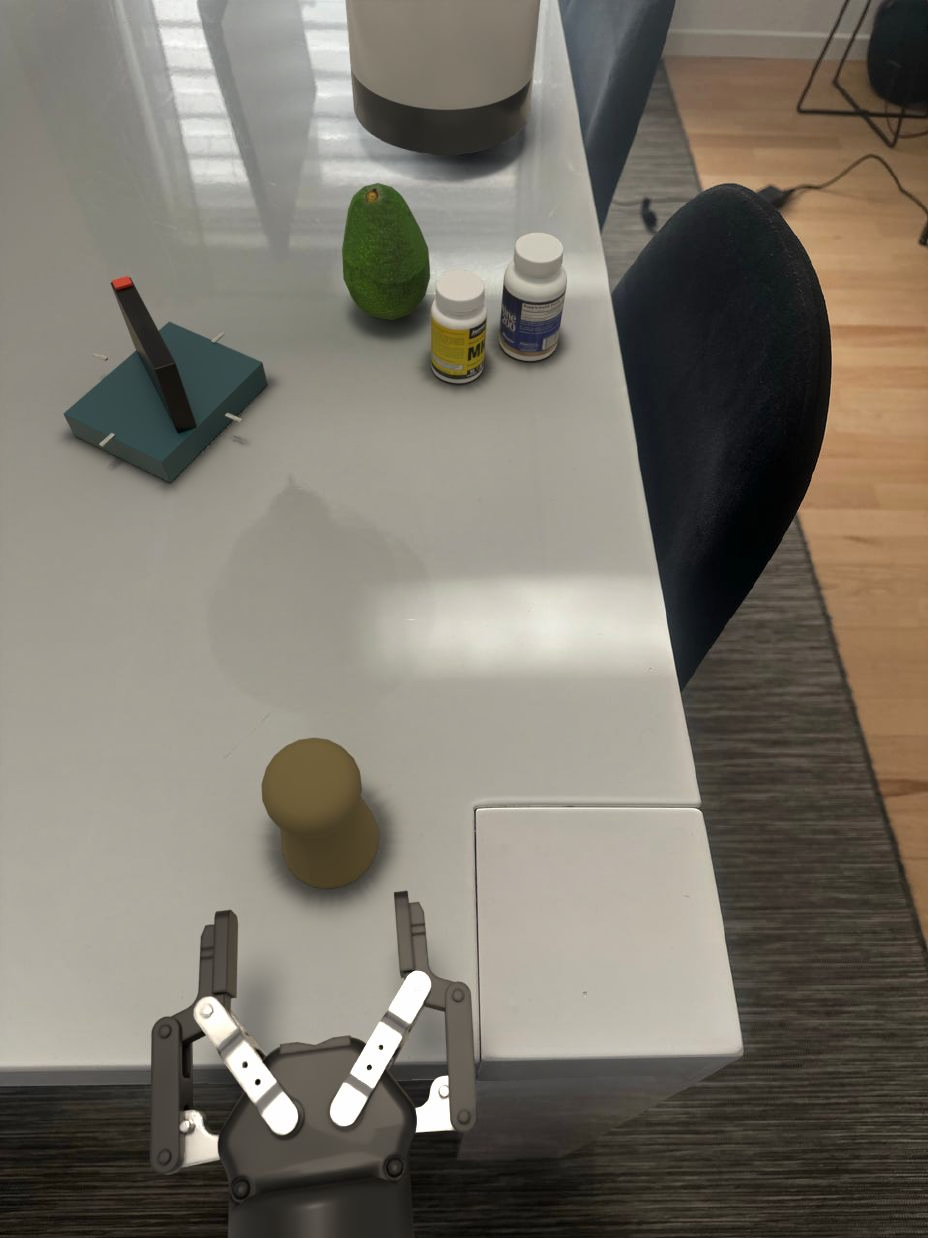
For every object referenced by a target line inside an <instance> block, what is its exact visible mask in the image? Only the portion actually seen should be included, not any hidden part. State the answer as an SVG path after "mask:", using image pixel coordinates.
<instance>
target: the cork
mask: <svg viewBox="0 0 928 1238" xmlns="http://www.w3.org/2000/svg"><path fill="white" fill-rule="evenodd" d="M362 791H363V785H362V775H361V771H360V768H359V766H358V764H357V762H356V760H355V758H354V757H353V756H352V754H350V753H349V752H348V751H347V750H346V749H345V747H343V746H342V745H341V744H338V743H337V742H334V741H333V740H330V739H328V738H327V739H326V738H319V737H309V738H302V739H297V740H296V741H294V742H291V743H289V744H287V745H285V746H284V747H282V748H281V749H280V750H279V751H277V753H276V754H274V755H273V757H272V758H271V759H270V761H269V763H268V764H267V766H266V768H265V771H264V774H263V778H262V782H261V801H262V804H263V806H264V808H265V811H266V813H267V815H268V817H269V818H270V820H271V821H272V822H273V823H275V825H276V827H278V828H279V830H280V831H279V832H280V840H281V853H282V854H281V855H282V857H283V859H284V862H285V864H286V867H287V869H288V870H289V871H290V872H291V873H292V874H293V875H294V876H295V878H296V879H297V880H299V881H300V882H302V883H304V884H306V885H308V886H310V887H312V888H318V889H324V890H330V889H336V888H341V887H345V886H346V885H349V884H351V883H352V882H355V881H356V880H358V879H359V878H360V877H361V876H362V875H363V874H364V873H365V872H367V870H368V869H369V868H370V866H371V865H372V863H373V861H374V859H375V857H376V855H377V853H378V849H379V843H380V833H379V825H378V822H377V820H376V818H375V816H374V813H373V812H372V810H371V809H370V807H369V806H368V804H367V803H366V802H365V800H364V798H363V797H362Z"/></svg>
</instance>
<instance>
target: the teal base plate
mask: <svg viewBox="0 0 928 1238" xmlns="http://www.w3.org/2000/svg"><path fill="white" fill-rule="evenodd" d="M158 331H159V332H160V334H161V336H162V338H163V340H164V342H165V344H166V346H167V348H168V350H169V351H170V353H171V355H172V357H173V359H174V361H175V363H176V366H177V369H178V372H179V375H180V378H181V380H182V383H183V386H184V389H185V392H186V395H187V398H188V401H189V404H190V407H191V410H192V413H193V416H194V419H195V422H196V425H197V427H195V428H192V429H189V430H186V431H183V432H180V433H177V431H176V429H175V427H174V425H173V423H172V421H171V419H170V417H169V415H168V413H167V411H166V409H165V407H164V405H163V403H162V401H161V399H160V397H159V395H158V393H157V391H156V389H155V387H154V385H153V383H152V381H151V379H150V377H149V375H148V373H147V371H146V369H145V367H144V365H143V363H142V361H141V359H140V357H139V355H138V353H137V351H136V350H135V351H134V352H132V353H130V355H129V356H128V357H127V358H125V359H124V360H123V361H122V362H120V363H119V365H117V366H116V367H115V368H114V369H113V370H111V372H109V373H108V374H107V375H106V376H104V378H102V379H101V380H100V381H99V382H97V384H96V385H95V386H93V387H92V388H91V389H89V390H88V391H87V392H86V393H85V394H84V395H83V396H82V397H80V398H79V399H78V400H76V402H75V403H74V404H73V405H71V406H70V407H69V408H68V409H66V410H65V412H63V416H64V418H65V421H66V422H67V424H68V426H69V428H70V430H71V432H72V434H73V436H74V437H76V438H78V439H80V440H82V441H84V442H86V443H88V444H91V445H93V446H94V447H97V448H98V449H100V450H102V451H105V452H107V453H109V454H111V455H113V456H114V457H117V458H118V459H121V460H123V461H125V462H127V463H129V464H131V465H133V466H134V467H138V468H139V469H141V470H143V471H145V472H147V473H149V474H151V475H153V476H155V477H157V478H159V479H161V480H164V481H165V482H167V483H169V484H170V483H172V482H173V481H174V480H175V479H176V478H177V477H178V476H179V475H180V473H182V472H183V471H184V470H185V469H186V468H187V467H188V466H189V465H190V464H191V463H192V462H193V461H194V460H195V458H197V457H198V456H199V455H200V454H201V453H202V452H203V451H204V449H206V447H208V446H209V444H210V443H211V442H213V441H214V440H215V438H216V437H217V436H219V434H221V432H222V431H223V430H225V428H226V427H227V426H228V425H229V424H230V423H231V422H232V421H234V422H236V423H238V424H240V423H241V422H242V421H243V419H242V418H240V417H238V415H239V414H241V412H242V411H243V410H244V409H246V407H247V406H249V404H250V403H251V402H252V401H253V400H254V399H255V398H256V397H257V396H258V395H259V394H260V393H261V392H262V391H263V390H264V389H265V388H266V387H267V385H268V380H267V376H266V372H265V367H264V362H263V361H260V360H258V359H256V358H254V357H252V356H249V355H247V354H245V353H242V352H241V351H238V350H236V349H233V348H231V347H228V346H226V345H225V344H222V343H220V342H219V341H220V340H221V339H222V338H223V337H224V336H225V335H226V334H225V332H223V331H220V332H219V333H218V334H217V335H216V336H215V337H213V339H211V338H208V337H206V336H203V335H201V334H199V333H196V332H195V331H192V330H189V329H188V328H185V327H183V326H181V325H178V324H176V323H174V322H172V321H168V322H167V323H166V324H164V325H163V326H161V328H159V329H158ZM92 356H93V357H95V358H97V359H100V360H102V361H104V362H107V361H108V360H109V357H108V356H105V355H104V354H102V353H100V352H97V351H94V352H93V353H92Z"/></svg>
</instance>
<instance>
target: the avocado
mask: <svg viewBox="0 0 928 1238" xmlns="http://www.w3.org/2000/svg"><path fill="white" fill-rule="evenodd" d="M343 234H344V235H343V240H342V246H341V256H342V278H343V282H344V283H345V286H346V288H347V291H348V293H349V294H350V297H351V298H352V301H353V302H354V304H355V305H356V306H357V307H358V308H359V310H361V311H362V312H363V313H365V314H367V315H369V316H372V317H374V318H377V319H383V320H389V321H390V320H391V321H393V320H398V319H400V318H404V317H407V316H408V315H409V314H411V313H413V311H416V309H418V308H419V306H420V305H421V303H422V301H423V300H424V299H425V297H426V294H427V291H428V287H429V283H430V280H431V264H430V263H431V262H430V251H429V246H428V244H427V242H426V239H425V237H424V234H423V232H422V229H421V228H420V225H419V224H418V222H417V219H416V218H415V216H414V214H413V212H412V211H411V208H410V206H409V204H408V203H407V201H406V200H405V199H404V197H403V196H402V194H401V193H400V192H399V191H397V190H396V189H395V187H393V186H389V185H386V184H383V183H379V182H377V183H372V184H368V185H364V186H363V187H361V188H360V189H359V190H358V191H357V192H355V194H353V196H352V198H351V200H350V203H349V206H348V209H347V215H346V221H345V226H344V233H343Z"/></svg>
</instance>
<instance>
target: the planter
mask: <svg viewBox="0 0 928 1238" xmlns="http://www.w3.org/2000/svg"><path fill="white" fill-rule="evenodd" d="M344 1H345V12H346V13H345V14H346V27H347V39H348V52H349V63H350V64H349V65H350V77H351V79H350V80H351V89H352V102H353V103H352V104H353V111H354V114H355V117H356V119H357V121H358V122H359V124H360V125H361V126H362V127H363V128H364V130H365V131H367V132H368V133H369V134H370V135H372V137H375V138H376V139H378V140H380V141H381V142H383V143H385V144H387V145H390V146H393V147H395V148H399V149H402V150H405V151H408V152H409V151H410V152H412V153H413V152H414V153H420V154H425V155H431V156H457V155H464V154H465V155H466V154H473V153H478V152H483V151H486V150H489V149H492V148H495V147H498V146H500V145H502V144H505V143H506V142H508V141H509V140H511V139H513V138H514V137H516V136H517V135H519V133H520V132H521V131H522V130H523V129H524V128H525V126H526V125H527V123H528V120H529V118H530V114H531V107H532V96H533V95H532V94H533V83H534V76H535V75H534V73H535V64H536V53H537V44H538V43H537V42H538V30H539V20H540V19H539V18H540V10H541V0H344Z"/></svg>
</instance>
